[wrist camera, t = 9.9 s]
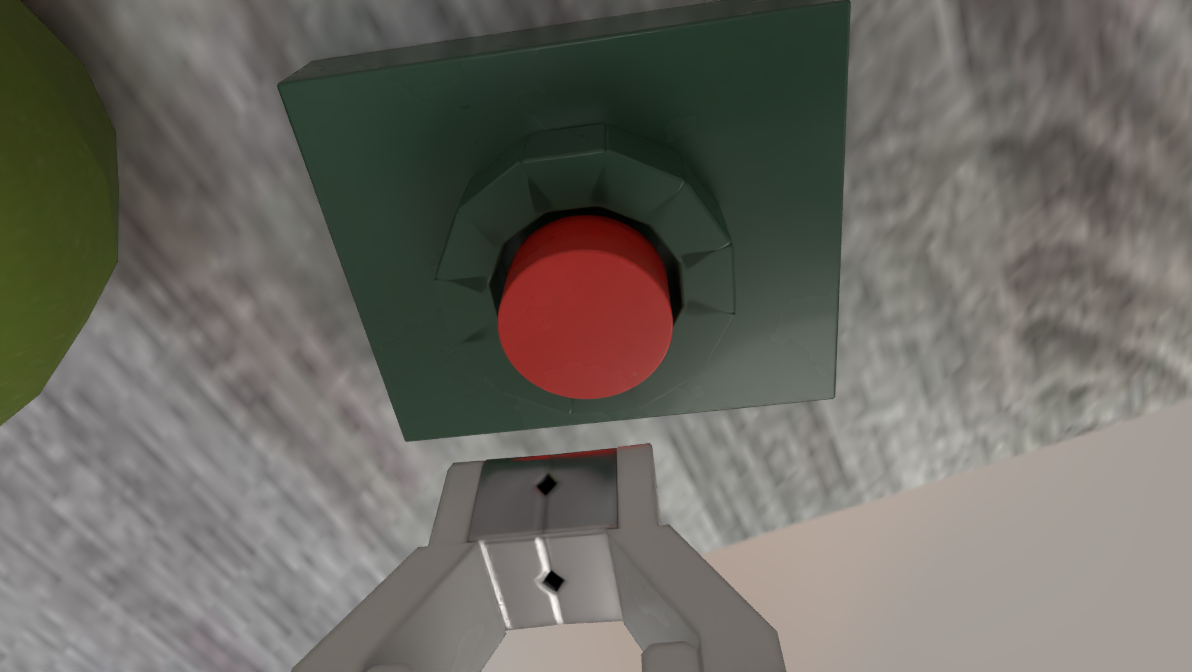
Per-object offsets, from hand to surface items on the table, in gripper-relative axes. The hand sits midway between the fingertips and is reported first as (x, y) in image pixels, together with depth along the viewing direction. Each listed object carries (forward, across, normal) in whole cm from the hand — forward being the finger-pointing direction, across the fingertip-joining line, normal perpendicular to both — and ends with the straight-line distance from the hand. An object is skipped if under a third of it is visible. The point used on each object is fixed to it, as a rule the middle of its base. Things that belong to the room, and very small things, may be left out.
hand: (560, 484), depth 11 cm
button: (+6, 0, 0) cm, 6 cm away
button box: (+10, 0, 0) cm, 10 cm away
